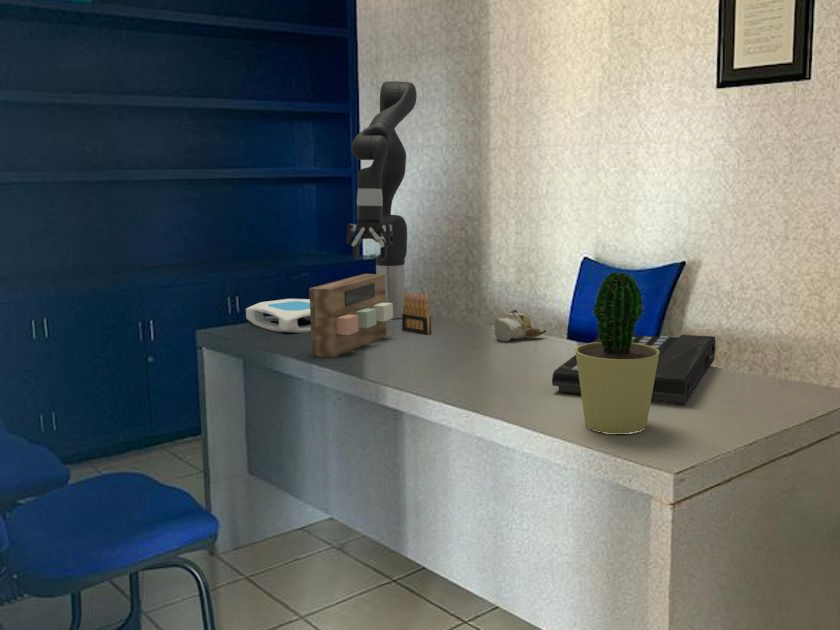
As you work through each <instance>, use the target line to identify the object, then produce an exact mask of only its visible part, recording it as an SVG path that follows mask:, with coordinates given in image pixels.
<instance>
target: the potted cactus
mask: <svg viewBox="0 0 840 630" xmlns="http://www.w3.org/2000/svg"><path fill="white" fill-rule="evenodd" d="M605 274H606V275H605V276H606V277H605V278H604V279H600V281H598V283H599V284H601V287H600V288H599V287H596V290H597V292H596V293H597V294H596V293H595V294H594V295H595V296H593V299H595V301H593V300H591V301H593V302H592V303H594V305H592V306H591V307H592V308H593V313H592V314H591V315H592V316H591V318H592V317H595V318H596V322H595V323H596V324H597V328H595V331H597V330H598V331H597V332H596V335H597V334H598V335H597V336H596V338H599V337H600V339H601V340H600V341H601V342H598V341H597V342H596V343H592V342H589V343H584V344H581V345H580V344H579V345H578V346H577V347H575V348H574V352H575V355H576V359H577V366H578V373H579V381H580V388H581V394H580V395H581V396H580V397H581V402H582V409H583V416H584V424H585V426H586V425H587V427H589V428H591V429H593V430H596V431H600V432H607V433H629V432H635V431H640V430H642V429H644V428H645V427H646V428H647V425H648V418H649V415H650V407H651V402H652V401H651V397H652V391H653V386H654V380H655V375H656V369H657V364H658V358H659V350H658V349H656V348H654V347H651V346H648V345H643V344H637V343H632V342H633V341H632V337H633V335H638V332H637V331H636V329H635V328H636V327H637V325H638V324H639V322H640V321H642V320H644V317H643V316H642V315H643V314H644V315H646V316H647V314H646V313H645V312H643V310H647V309H646V306H645V305H646V303H643V302H644V301H645V300H646V298H643V295H642V293H643V292H644V290H642V291H640V290H641V289H643V287H640V286H638V285H639V282H640V280H638V281H637V280H634V278H632V276H633V274H632V272H631V271H630V272H629V273H625V272H623V271H622V272H621V271H620V272H617V271H613V272H611V273H609V272H606V273H605ZM639 325H640V324H639ZM587 427H586V428H587Z"/></svg>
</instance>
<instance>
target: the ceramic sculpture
mask: <svg viewBox="0 0 840 630" xmlns="http://www.w3.org/2000/svg"><path fill="white" fill-rule="evenodd" d="M493 327H494V335H495V337H496V339H498V340H499V341H500V342H509V341H510V340H511V339H513V340H524V339H525V338H527V337H528V338H536V337H539V336H541V335H543V334H545V333H546V332H548V331H547V330H546V329H540V328H537V327H532V324H531V319H530V318H529V317H528V316H527V315H526V314H523V313H519V312H518V310H517V309H514V310H511V311H509V312H508V313H507V315H506V317H505V318H501V317H498V316H496V317H495V320H494V326H493Z"/></svg>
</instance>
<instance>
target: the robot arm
mask: <svg viewBox="0 0 840 630" xmlns="http://www.w3.org/2000/svg"><path fill="white" fill-rule="evenodd" d="M380 87H381V88H380V93H379V113H377V114H376V115H375V116H374V117H373V119H372V120H371V122H370V124H369V125H368V126H367V127H366V128H364V129H363V130H361V131H360V132H359V133H358V134H357V135H356V136H355V137H354V138H353V140H352V143H351V152H352V156H353V157H354V158H355V159H357V160H360V161H372V163H371V165H369V166H368V167H365V168H361V169H359V170H358V172H357V193H356V194H357V195H356V215H357V216H356V219H357V220H356V221H357V223H356V224H354V223H348V224H347V227H346V239H345V240H346V244H347V245H350V246H351V247H352V257H353V258H354V260H360V256H361V255H360V249H361V248H360V244H361V242H362V241H363V240H373V241H374V242H375V243H378V245H380V249H379V250H380V251H379V252H380V253H379V254H377V256H376V257H375V264H376V265H375V269H376V274H382V275H385V303H393V318H392V319H391V320H394V319H395V320H397V319H402V314H403V303H404V293H405V291H406V293H407V298H408V293H409V289H408V288H409V287H408V286H406V271H405V268H406V267H405V266H406V265H405V261H406V257H407V253H408V252H407V250H408V226H407V222H406V220H405V219H404V217H402V216H401V215H399V214H398V215H397V214H392V204H393V200H394V197H395V195H396V192H397V191H398V189H399V188H400V186H401V184H402V183H403V181H404V177H405V175H406V164H407V151H406V149H405V147H404V144H403V142H402V141H401V139H400V137H399V135H398V133H397V131H396V127H398V125H399V124H401V122H402V121H403V120H404V119H405V118H406V117H407V116H408V115H409V114H410V113H411V112H412V111H413V110H414V108H415V105H416V103H417V88H416V86H415V84H413V82H410V81H391V80H390V81H384V82H383V83H382V84H381V86H380ZM356 230H357V235H356V236H355V231H356Z"/></svg>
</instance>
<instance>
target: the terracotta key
mask: <svg viewBox="0 0 840 630" xmlns="http://www.w3.org/2000/svg"><path fill="white" fill-rule="evenodd" d="M358 331H359V325H358V315H350V314H343V315H340V316H337V317H336V334H340V335H350V334H353V333H355V332H358Z"/></svg>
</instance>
